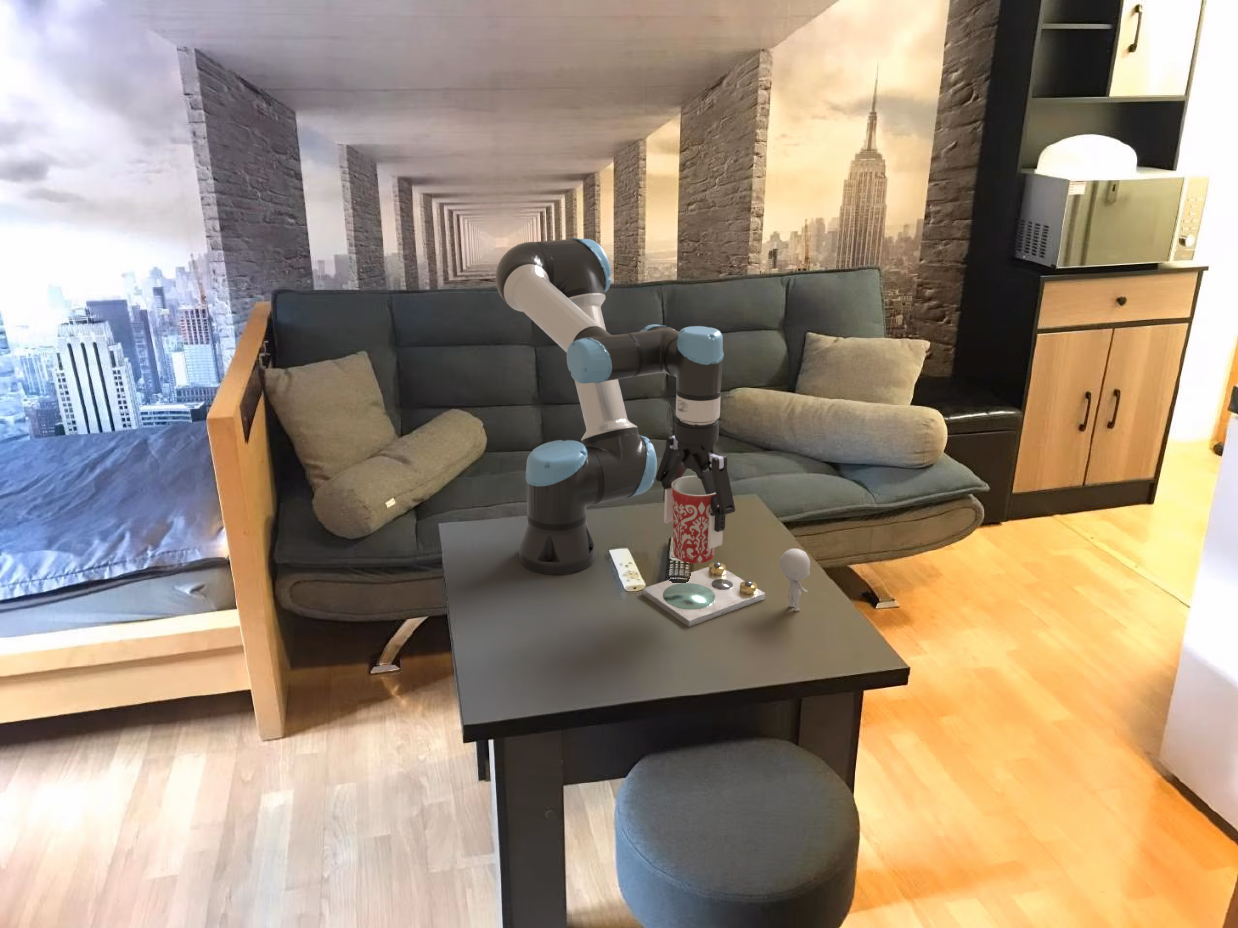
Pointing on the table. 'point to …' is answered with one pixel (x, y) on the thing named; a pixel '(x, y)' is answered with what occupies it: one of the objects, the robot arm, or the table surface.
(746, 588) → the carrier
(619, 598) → the table surface
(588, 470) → the robot arm
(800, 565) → the figurine
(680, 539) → the mug
